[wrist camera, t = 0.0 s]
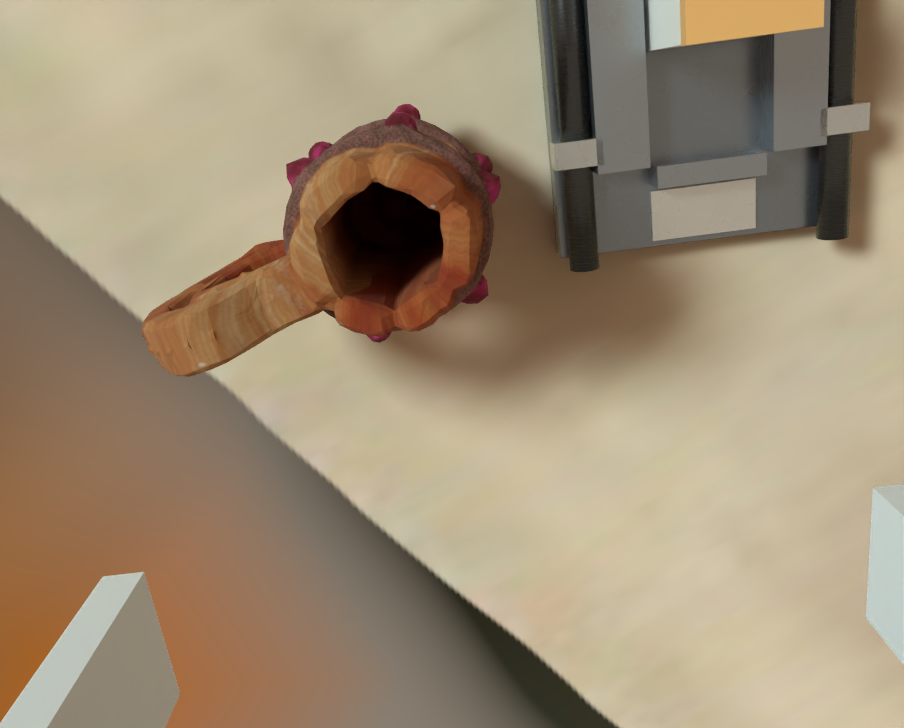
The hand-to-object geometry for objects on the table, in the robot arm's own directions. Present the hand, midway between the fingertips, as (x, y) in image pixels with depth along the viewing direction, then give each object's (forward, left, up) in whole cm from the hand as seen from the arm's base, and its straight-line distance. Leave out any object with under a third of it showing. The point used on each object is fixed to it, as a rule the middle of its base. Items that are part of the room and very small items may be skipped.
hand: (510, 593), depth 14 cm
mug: (-3, -5, -28) cm, 29 cm away
